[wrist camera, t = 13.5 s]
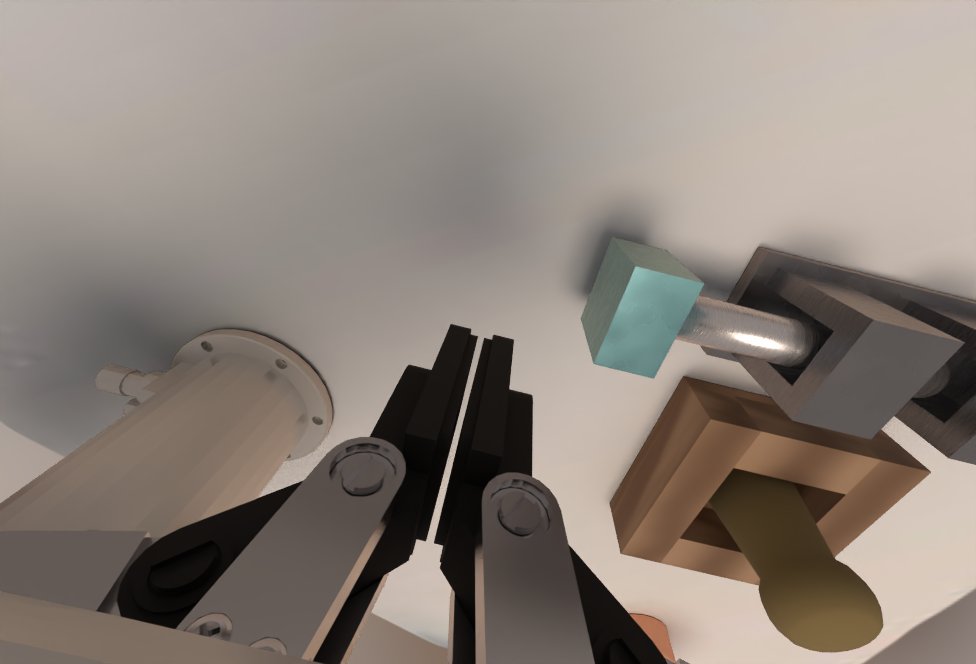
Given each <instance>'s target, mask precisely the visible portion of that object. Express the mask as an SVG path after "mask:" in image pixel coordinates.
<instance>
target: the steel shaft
mask: <svg viewBox="0 0 976 664" xmlns="http://www.w3.org/2000/svg"><path fill="white" fill-rule="evenodd" d="M704 284H705V283H703V282H702V281H701V280H700V279H699V278H698V277H696V276H695V275H694V274H693V273H692V272H691V271H690V270H688V269H687V268H686V267H685V266H684V265H683V264H681V263H680V262H679V261H678V260H677V259H676V258H675V257H673V256H672V255H671V254H670V253H669V252H668V251H667V250H663V249H659V248H655V247H651V246H647V245H643V244H639V243H635V242H631V241H627V240H623V239H619V238H615V237H612V239H611V241H610V244H609V246H608V249H607V252H606V254H605V257H604V259H603V262H602V265H601V267H600V270H599V272H598V275H597V278H596V280H595V283H594V285H593V288H592V291H591V293H590V296H589V298H588V301H587V304H586V306H585V309H584V311H583V314H582V317H581V321H582V324H583V328H584V331H585V335H586V339H587V342H588V346H589V349H590V353H591V356H592V360H593V363H594V364H596V365H600V366H604V367H608V368H613V369H617V370H621V371H625V372H629V373H633V374H637V375H642V376H646V377H650V378H654V377H655V375H656V374H657V372H658V370H659V368H660V366H661V364H662V362H663V360H664V359H665V357H666V355H667V353H668V351H669V349H670V347H671V346H672V344H673V342H674V340H675V339H677V340H681V341H685V342H689V343H693V344H697V345H701V346H705V347H710V348H714V349H718V350H722V351H726V352H730V353H734V354H738V355H742V356H746V357H750V358H755V359H759V360H763V361H767V362H771V363H775V364H779V365H783V366H787V367H791V368H796V369H800V370H805V369H806V367H807V366H808V365H809V364H810V362H811V361H812V360H813V358H814V357H815V356H816V354H817V353H818V352H819V350H820V349H821V348H822V347H823V345H824V344H825V343H826V341H827V340H828V339H829V337H830V336H831V335H832V333H833V332H834V331H833V330H832V329H830V328H828V327H824V326H820V325H816V324H812V323H807V322H803V321H799V320H795V319H791V318H787V317H783V316H779V315H775V314H771V313H767V312H763V311H759V310H755V309H751V308H747V307H743V306H739V305H735V304H731V303H727V302H723V301H719V300H715V299H711V298H707V297H702V296H698V295H699V293H700V291H701V290H702V288H703V286H704ZM949 377H950V370H949V366H948V364H947V363H945V364H944V365H943V366H942V367H941V368H940V369H939V370H938V371H937V372H936V373H935V374H934V375H933V376H932V377H931V378H930V379H929V380H928V381H927V382H926V383H925V384H924V385H923V386H922V387H921V389H920V390H919V391H918V392H917V393H916V394H915V395H914V396H913V397H915V398H926V397H930V396H933V395H935V394H937V393H939V392H940V391H941V390H942V389H943V388H944V387H945V386H946V385H947V383H948V381H949Z"/></svg>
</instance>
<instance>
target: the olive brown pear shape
mask: <svg viewBox="0 0 976 664" xmlns="http://www.w3.org/2000/svg"><path fill="white" fill-rule="evenodd" d="M708 502H709V503H710V505H711V506H712V508H713V509H714V511H715V512H716V514H717V515H718V517H719V518H720V520H721V521H722V523H723V524H724V526H725V527H726V529H727V530H728V532H729V533H730V535H731V536H732V538H733V539H734V541H735V542H736V544H737V545H738V547H739V548H740V550H741V551H742V553H743V554H744V556H745V557H746V559H747V560H748V562H749V563H750V565H751V566H752V568H753V569H754V571H755V572H756V574H757V575H758V577H759V578H760V584H759V593H760V597H761V601H762V604H763V606H764V608H765V610H766V613H767V615H768V617H769V619H770V620H771V622H772V623H773V624H774V626H775V627H776V628H777V630H778V631H779V632H781V633H782V634H783V635H784V636H785V637H787V638H788V639H789V640H790V641H791V642H793V643H794V644H795V645H798V646H801V647H803V648H806V649H809V650H813V651H819V652H842V651H849V650H852V649H856V648H860V647H862V646H864V645H866V644H868V643H870V642H871V641H872V640H874V639H875V638H876V637H877V636H878V635H879V633H880V632H881V630H882V628H883V618H882V611H881V607H880V605H879V603H878V600H877V598H876V596H875V594H874V593H873V592H872V590H871V589H870V588H869V587H868V585H867V584H866V583H865V582H864V581H863V580H862V579H861V578H860V577H859V576H858V575H857V574H856V573H855V572H854V571H853V570H852V569H850V568H849V567H848V566H847V565H845V564H843V563H841V562H839V561H837V560H836V559H835V558H834V556H833V554H832V552H831V550H830V548H829V547H828V545H827V543H826V541H825V539H824V538H823V536H822V534H821V532H820V530H819V528H818V527H817V525H816V523H815V521H814V519H813V518H812V516H811V514H810V512H809V510H808V509H807V507H806V505H805V503H804V501H803V499H802V498H801V496H800V494H799V492H798V490H797V489H796V487H795V485H794V483H793V482H791V481H787V480H783V479H779V478H774V477H770V476H766V475H762V474H757V473H753V472H749V471H745V470H740V469H736V468H733V469H732V471H731V472H730V473H729V475H728V476H727V477H726V479H725V480H724V481H723V482H722V484H721V485H720V486H719V488H718V489H717V490H716V492H715V493H714V494H713V495H712V497H711V498H710V499H709V501H708Z"/></svg>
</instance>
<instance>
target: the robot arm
mask: <svg viewBox="0 0 976 664" xmlns="http://www.w3.org/2000/svg"><path fill="white" fill-rule="evenodd" d="M470 334H471V329H469V328H465V327H461V326H457V325H453V324H451V325H450V327H449V330H448V332H447V335H446V337H445V339H444V342H443V344H442V346H441V349H440V351H439V354H438V356H437V358H436V361H435V363H434V365H433V368H432V370H429V369H425V368H421V367H417V366H413V365H408V366H407V367H406V369H405V371H404V373H403V375H402V377H401V378H400V380H399V382H398V384H397V386H396V388H395V390H394V392H393V394H392V395H391V397H390V399H389V401H388V403H387V405H386V407H385V409H384V411H383V413H382V414H381V416H380V418H379V420H378V422H377V424H376V426H375V428H374V430H373V431H372V433H371V435H370V437H359V438H354V439H350V440H347V441H345V442H343V443H341V444H339V445H337V446H335V447H334V448H333V449H332V450H331V451H330V452H328V453H327V454H326V456H325V457H324V458H323V459H322V460H321V461H320V462H319V464H318V465H317V466H316V467H315V468H314V469H313V471H312V472H311V473H310V474H309V475H308V476H307V478H306V479H305V480H304V481H301V482H299V483H296V484H293V485H291V486H288V487H286V488H283V489H280V490H278V491H275V492H273V493H270V494H267V495H265V496H262V497H260V498H258V497H259V495H260V494H261V492H262V491H263V490H264V488H265V487H266V486H267V484H268V483H269V482H270V480H271V479H272V477H273V476H274V475H275V473H276V472H277V471H278V469H279V468H280V467H281V465H282V464H283V462H284V461H290V460H295V459H298V458H301V457H304V456H306V455H308V454H310V453H311V452H313V451H314V450H315V449H316V448H317V447H318V446H319V445H320V444H321V443H322V441H323V440H324V438H325V437H326V435H327V434H328V432H329V429H330V426H331V424H332V414H333V412H332V406H331V400H330V398H329V395H328V392H327V390H326V388H325V386H324V384H323V383H322V381H321V379H320V378H319V376H318V375H317V374H316V373H315V372H314V370H313V369H312V368H311V367H310V366H309V365H308V364H307V363H306V362H305V361H304V360H303V359H302V358H300V357H299V356H298V355H297V354H296V353H294V352H293V351H291V350H290V349H288V348H287V347H285V346H284V345H282V344H280V343H278V342H276V341H274V340H272V339H270V338H268V337H265V336H262V335H259V334H256V333H253V332H249V331H242V330H236V329H220V330H215V331H211V332H206V333H204V334H202V335H200V336H198V337H196V338H194V339H193V340H191V341H190V342H188V343H187V344H186V345H184V346H183V347H182V348H181V349H180V350H179V351H178V353H177V354H176V355H175V357H174V360H173V362H172V365H171V370H169V371H168V372H166V373H164V372H160V371H154V372H152V373H149V374H143V373H142V372H140V371H138V370H134V369H129V368H125V367H121V366H116V365H109V366H107V367H105V368H103V369H102V370H101V371H100V372H99V373H98V374H97V376H96V379H95V385H96V387H97V388H98V389H99V390H102V391H106V392H111V393H115V394H119V395H124V396H134V397H136V398H137V399H132V400H130V401H129V402H128V403H127V404H126V406H125V408H124V414H125V415H124V416H123V417H121V418H120V419H119V420H117V421H116V422H114V423H113V424H112V425H110V426H109V427H107V428H106V429H105V430H103V431H102V432H100V433H99V434H98V435H96V436H95V437H93V438H92V439H90V440H89V441H88V442H86V443H85V444H83V445H82V446H81V447H79V448H78V449H76V450H75V451H74V452H72V453H71V454H69V455H68V456H67V457H65V458H64V459H62V460H61V461H59V462H58V463H57V464H55V465H54V466H53V467H51V468H50V469H48V470H47V471H45V472H44V473H43V474H41V475H40V476H38V477H37V478H36V479H34V480H33V481H31V482H30V483H29V484H27V485H26V486H24V487H23V488H21V489H20V490H19V491H18V492H16V493H14V494H13V495H12V496H10V497H9V498H8V499H6V500H5V501H3V502H2V503H0V664H346V663H347V661H348V659H349V657H350V655H351V653H352V651H353V649H354V646H355V645H356V643H357V640H358V638H359V636H360V634H361V632H362V630H363V628H364V626H365V624H366V622H367V620H368V618H369V616H370V613H371V611H372V609H373V607H374V605H375V603H376V601H377V599H378V597H379V595H380V593H381V591H382V589H383V586H384V584H385V582H386V580H387V576H388V573H389V572H391V571H392V570H394V569H395V568H397V567H399V566H400V565H402V564H404V563H405V562H407V561H409V557H410V555H412V553H413V550H414V546H415V543H416V539H418V540H422V541H426V539H427V535H428V532H429V528H430V524H431V520H432V516H433V512H434V509H435V505H436V501H437V497H438V493H439V489H440V486H441V482H442V478H443V474H444V470H445V467H446V463H447V459H448V455H449V451H450V447H451V444H452V440H453V436H454V432H455V428H456V424H457V421H458V417H459V413H460V408H461V404H462V400H463V396H464V392H465V388H466V384H467V380H468V375H469V371H470V367H471V363H472V359H473V355H474V351H475V347H476V342H477V338H478V336H474V335H470ZM513 344H514V340H513V339H509V338H505V337H501V336H497V335H493V338H492V340H491V339H487V338H484V341H483V345H482V349H481V353H480V357H479V361H478V365H477V369H476V373H475V377H474V381H473V385H472V389H471V393H470V397H469V401H468V405H467V409H466V413H465V417H464V421H463V425H462V429H461V433H460V437H459V441H458V445H457V449H456V454H455V458H454V462H453V466H452V470H451V474H450V478H449V483H448V487H447V491H446V495H445V499H444V503H443V507H442V512H441V516H440V520H439V524H438V528H437V532H436V536H435V541H434V543H435V544H439V545H443V549H442V554H441V558H440V562H441V566H440V569H441V571H442V572H443V574H444V576H445V577H446V579H447V581H448V582H449V584H450V586H451V587H452V590H451V595H450V613H449V636H448V659H447V664H689V663H687V662H685V661H683V660H681V659H678V660H677V661H676V662H675V663H674V662H672V661H670V660H668V659H666V658H664V656H663V655H662V653H661V652H660V651H659V649H658V648H657V646H656V645H655V644H654V642H653V641H652V640H651V639H650V637H649V636H648V635H647V634H646V633H645V632H644V631H643V629H642V628H641V627H640V626H639V625H638V624H637V622H636V621H635V620H634V619H633V618H632V617H631V616H630V614H629V613H628V612H627V611H626V610H625V609H624V608H623V606H622V605H621V604H620V603H619V602H618V601H617V600H616V598H615V597H614V596H613V595H612V594H611V593H610V591H609V590H608V589H607V588H606V587H605V586H604V585H603V583H602V582H601V581H600V580H599V579H598V578H597V577H596V575H595V574H594V573H593V572H592V571H591V570H590V569H589V567H588V566H587V565H586V564H585V563H584V562H583V560H582V559H581V558H580V557H579V556H578V555H577V554H576V552H575V551H574V550H573V549H572V548H571V547H570V546H569V544H568V540H567V536H566V531H565V527H564V522H563V518H562V513H561V510H560V507H559V504H558V502H557V499H556V498H555V496H554V495H553V494H552V492H551V491H550V489H548V488H547V487H546V486H545V485H544V484H543V483H542V482H540V481H539V480H537V479H535V478H533V477H532V425H533V398H532V395H530V394H526V393H522V392H518V391H514V390H510V389H509V385H510V375H511V365H512V354H513Z"/></svg>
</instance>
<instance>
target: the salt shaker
mask: <svg viewBox="0 0 976 664" xmlns="http://www.w3.org/2000/svg"><path fill="white" fill-rule="evenodd" d="M630 616H631V617H632V618H633V619H634V620H635V621H636V622H637V624H638V625H639V626H640V627H641V628H642V629H643V631H644V632H645V633H646V634H647V635H648V636H649V637H650V639H651V640H652V641H653V642H654V644H655V645H656V646H657V648H658V649H659V651H660V652H661V653H662V655H663V656H664V658H666V659H668V660H670V661H672V662H674V663H675V662H676V661H675V657H674V654H673V650H672V647H671V643H670V639H669V636H668V632H667V629H666V626H665V625H664V624H663V623H662V622H661V621H659V620H657V619H655V618H653V617H649V616H645V615H637V614H630Z"/></svg>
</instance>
